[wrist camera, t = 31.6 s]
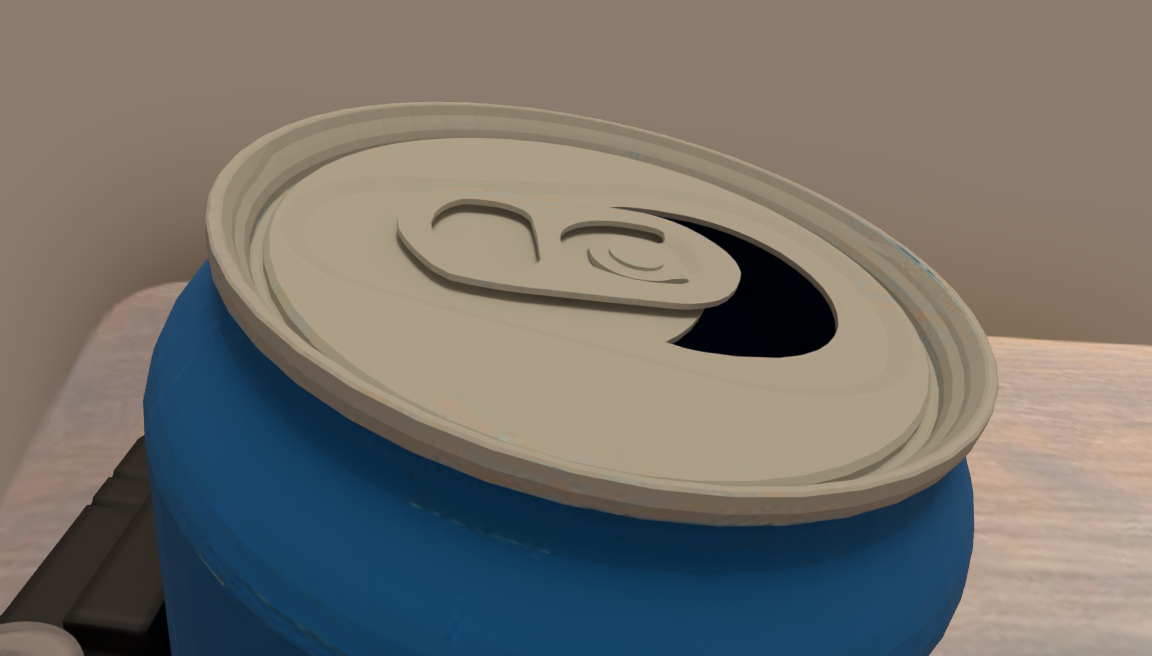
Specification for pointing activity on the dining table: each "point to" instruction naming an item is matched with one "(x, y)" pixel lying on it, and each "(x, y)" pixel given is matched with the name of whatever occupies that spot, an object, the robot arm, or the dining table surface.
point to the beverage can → (554, 403)
